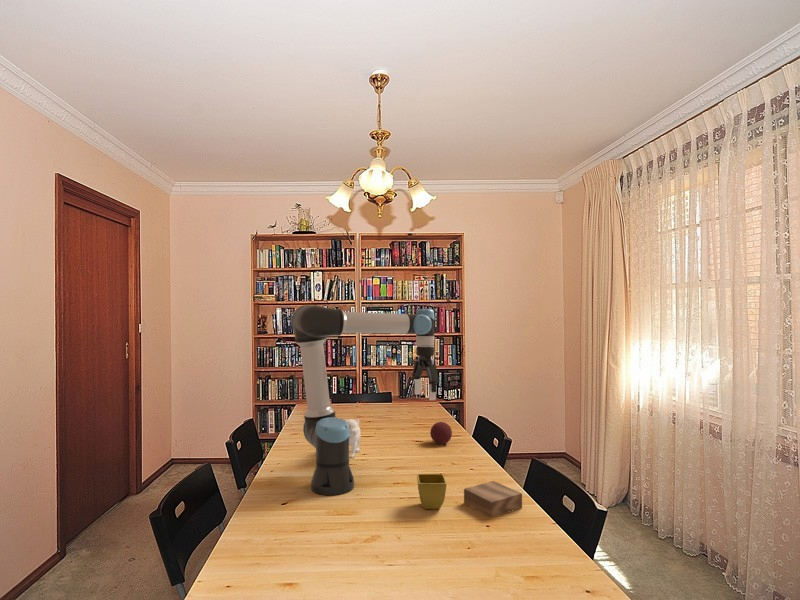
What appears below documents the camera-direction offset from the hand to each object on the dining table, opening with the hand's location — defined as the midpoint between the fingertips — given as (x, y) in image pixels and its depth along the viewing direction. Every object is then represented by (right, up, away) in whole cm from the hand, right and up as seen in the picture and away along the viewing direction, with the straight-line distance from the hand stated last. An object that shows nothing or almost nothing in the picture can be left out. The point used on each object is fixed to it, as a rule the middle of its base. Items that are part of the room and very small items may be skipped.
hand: (424, 397), depth 207 cm
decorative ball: (+9, -26, +23) cm, 36 cm away
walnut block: (+19, -26, -47) cm, 57 cm away
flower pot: (0, -26, -47) cm, 54 cm away
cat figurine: (-33, -26, +8) cm, 43 cm away
